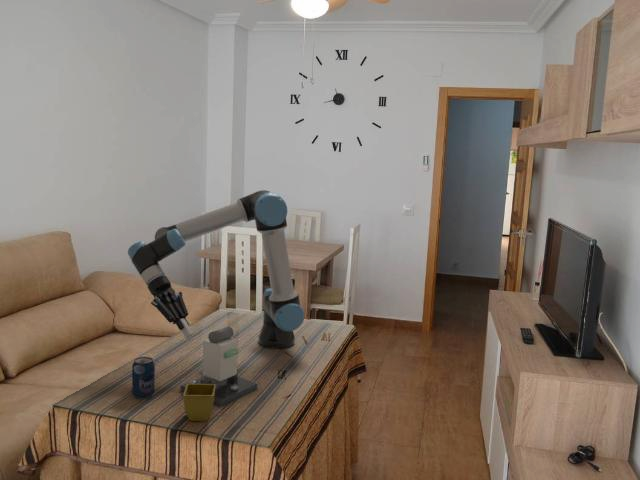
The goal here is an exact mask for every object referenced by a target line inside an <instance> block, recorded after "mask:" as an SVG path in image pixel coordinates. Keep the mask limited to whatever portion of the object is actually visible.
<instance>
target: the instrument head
mask: <svg viewBox="0 0 640 480" xmlns="http://www.w3.org/2000/svg"><path fill="white" fill-rule="evenodd" d="M207 335H208V337H207V338H206V339H203V343H202V345H203V347H202V376H207V377H210V378H212V384H215V383H217V382H219V381H222V380H225V379H227V378H229V377H232V376H234V375H236V374H237V369H238V354H239V340H238V339H236V338H234V337H233V336H234V330H233V328H232V327H231V326H226V327H223V328H221V329H220V328H219V329H217V330H214V331H211V332H209V333H208V334H207Z"/></svg>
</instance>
